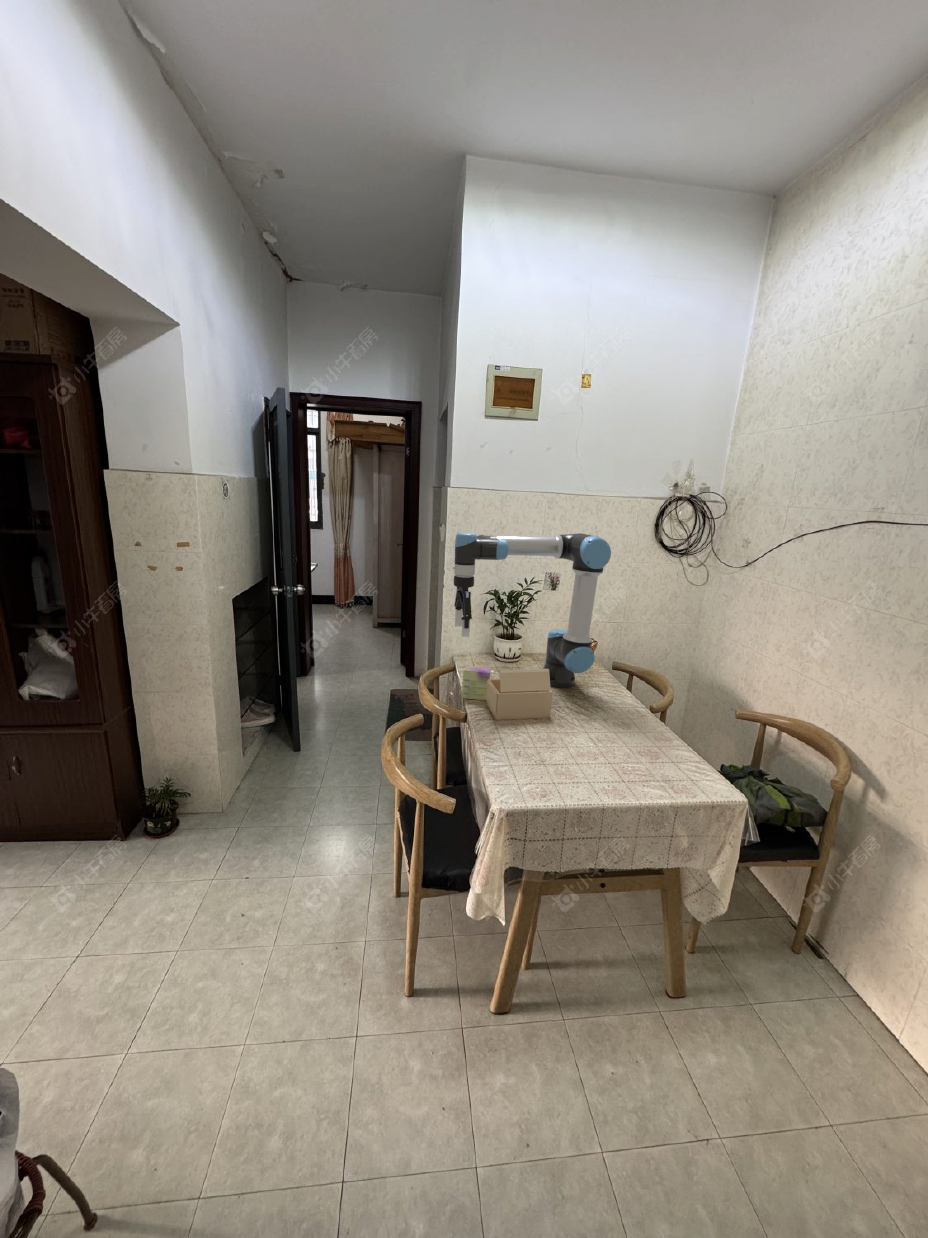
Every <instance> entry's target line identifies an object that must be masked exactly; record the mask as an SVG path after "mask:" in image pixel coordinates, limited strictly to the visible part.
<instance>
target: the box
mask: <svg viewBox="0 0 928 1238" xmlns="http://www.w3.org/2000/svg"><path fill="white" fill-rule="evenodd" d="M488 679H491V667H481V666H470V665H464V668H463V673H462V686H461V687H462V688H461V699H468V700H479V701H486V702H487V699H486V694H487V681H488Z"/></svg>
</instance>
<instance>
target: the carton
mask: <svg viewBox="0 0 928 1238" xmlns="http://www.w3.org/2000/svg"><path fill="white" fill-rule="evenodd" d="M552 698H553V690H552V689H551V690H542V691H515V692H501V690H500V678H497V679H496V678H493V679H492V678H490V679H488V681H487V694H486V699H487V701H486V705H487V708H488V709H489V710H490V712H491V713H492V715H493V717H494V718H495V720H496V721H505V720H508V721H509V720H529V719H530V720H531V719H545V718H546V719H548V718H550V715H551V710H552V700H553V699H552Z"/></svg>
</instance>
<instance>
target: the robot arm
mask: <svg viewBox="0 0 928 1238" xmlns="http://www.w3.org/2000/svg"><path fill="white" fill-rule="evenodd" d="M508 556H528V557H529V556H536V557H538V556H539V557H544V556H545V557H553V558H555V559H564V560H568V561H570V562H571V561H572V567H571V569H572V571H573V572H574V574H575V575H574V583H573V589H572V598H571V603H570V611H569V617H568V618H569V619H568V625H567V629H552V630H550V631H549V632H548V635H547V642H546V652H545V653H546V654H545V663H544V666H543V668H542V669H549V675H550V687H553V688H562V689H563V688H571V687H573V686H574V685H575V684H576V675H575V674H583V673H585V672H587V671H588V670H590V668H592V667H593V665H594V662H595V659H596V658H595V653H594V651H593V650H592V644H593V639H592V638H591V636H590V631H591V626H592V625H591V624H592V619H593V611H594V605H595V604H594V603H595V597H596V593H597V592H596V591H597V585H598V579H599V576H600V575H601V574H603V572H604V568H605V567H606V565H607V564H609V563H610V560H611V556H612V550H611V547H610V544H609V543H608V542H607V541H606V539H604V538H602V537H600V536H598V535H593V534H592V535H591V534H586V533H582V532H581V533H580V532H579V533H570V534H569V533H568V534H566V533H565V534H556V535H555V536H522V535H521V536H518V535H516V536H515V535H510V536H508V535H506V536H505V535H484V534H478V535H477V534H476V533H473V532H458V533H457V534H456V535H455V541H454V566H452V569H453V570H454V571H453V573H454V576H453V586H454V587H456V593H455V599H454V604H453V605H454V609H455V611H454V612H455V613H454V627H457V628H458V627H461V637H462V638H466V637H467V638H469V637H470V629H471V620H472V619H473V617H472V616H473V615H472V600H471V599H472V598H471V597H472V595H471V594H472V592H471V591H469V588H472V587H474V585H475V572H476V560H481V561H482V560H484V561H489V560H491V561H492V560H493V561H503V560H506V559H507V557H508Z"/></svg>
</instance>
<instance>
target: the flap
mask: <svg viewBox="0 0 928 1238" xmlns="http://www.w3.org/2000/svg"><path fill="white" fill-rule="evenodd" d="M499 679H500V690H501V692H515V691H542V690H551V691H552V688H551V686H550V675H549V669H543V668H532V669H529V668H526V669H500V670H499Z"/></svg>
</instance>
